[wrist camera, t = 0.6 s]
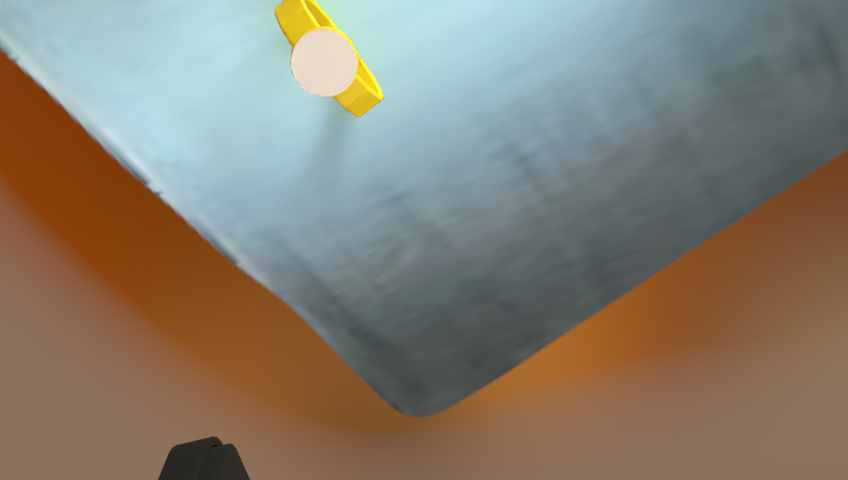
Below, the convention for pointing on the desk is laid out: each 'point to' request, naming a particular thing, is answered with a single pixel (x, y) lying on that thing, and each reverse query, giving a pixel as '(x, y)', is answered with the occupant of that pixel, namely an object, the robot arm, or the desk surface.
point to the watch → (326, 57)
